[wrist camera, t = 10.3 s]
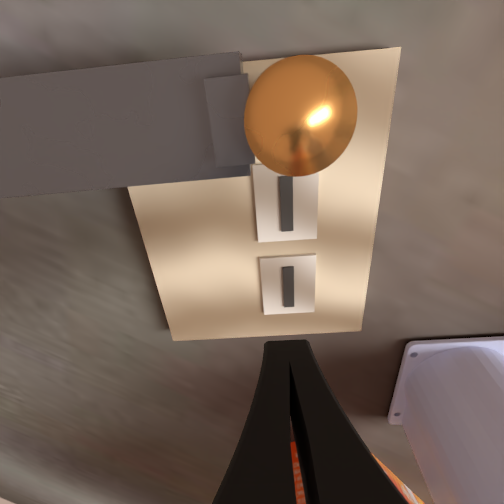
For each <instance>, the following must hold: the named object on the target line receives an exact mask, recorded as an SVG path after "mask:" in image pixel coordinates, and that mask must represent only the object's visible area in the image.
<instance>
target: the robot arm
mask: <svg viewBox="0 0 504 504" xmlns="http://www.w3.org/2000/svg"><path fill="white" fill-rule="evenodd" d="M290 416H291V421H292V427H293V433H294V438H295V444H296V449H297V455H298V461H299V466H300V472H301V477H302V483H303V488H304V494H305V501H306V504H409V503H408V502H407V500H406V499H405V498H404V497H403V495H402V494H401V493H400V491H399V490H398V489H397V487H396V486H395V485H394V483H393V482H392V481H391V480H390V478H389V477H388V476H387V474H386V473H385V472H384V470H383V469H382V467H381V466H380V465H379V463H378V462H377V460H376V459H375V458H374V456H373V455H372V454H371V452H370V451H369V449H368V448H367V446H366V445H365V443H364V442H363V440H362V439H361V437H360V436H359V434H358V433H357V431H356V430H355V428H354V427H353V425H352V424H351V422H350V420H349V419H348V417H347V416H346V414H345V412H344V411H343V409H342V407H341V406H340V404H339V402H338V401H337V399H336V397H335V395H334V394H333V392H332V390H331V388H330V387H329V385H328V383H327V381H326V379H325V377H324V375H323V373H322V371H321V369H320V367H319V365H318V363H317V361H316V359H315V356H314V354H313V352H312V349H311V347H310V344H309V342H308V341H307V340H285V341H267V342H266V343H265V344H264V354H263V361H262V367H261V372H260V376H259V380H258V384H257V388H256V391H255V395H254V398H253V402H252V405H251V408H250V411H249V414H248V417H247V420H246V423H245V426H244V429H243V432H242V434H241V437H240V440H239V442H238V445H237V448H236V450H235V453H234V455H233V458H232V460H231V462H230V465H229V467H228V469H227V472H226V474H225V476H224V479H223V481H222V483H221V485H220V487H219V490H218V492H217V494H216V496H215V498H214V501H213V503H212V504H297V501H296V492H295V482H294V473H293V463H292V453H291V442H290ZM388 421H389V423H390V424H392V425H399V424H402V426H403V429H404V431H405V434H406V436H407V439H408V441H409V444H410V446H411V448H412V451H413V453H414V456H415V458H416V461H417V463H418V466H419V468H420V470H421V473H422V475H423V478H424V480H425V483H426V485H427V488H428V490H429V492H430V495H431V497H432V500H433V502H434V504H504V336H499V337H480V338H460V339H441V340H421V341H411V342H409V343H408V344H407V345H406V347H405V351H404V355H403V359H402V363H401V367H400V370H399V374H398V378H397V382H396V386H395V390H394V394H393V398H392V402H391V406H390V410H389V414H388Z"/></svg>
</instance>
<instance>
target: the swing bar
mask: <svg viewBox="0 0 504 504" xmlns="http://www.w3.org/2000/svg"><path fill="white" fill-rule="evenodd" d="M357 110H358V107H357V99H356V95H355V91H354V89H353V86H352V84H351V82H350V80H349V79H348V77H347V76H346V75H345V73H344V72H343V71H342V70H341V69H340V68H339V67H338V66H337V65H335V64H334V63H332V62H331V61H329V60H327V59H324V58H322V57H318V56H314V55H297V56H291V57H287V58H284V59H281V60H279V61H277V62H275V63H273V64H272V65H270V66H269V67H268V68H266V69H265V70H264V71H263V72H262V73H261V74H260V76H259V77H258V78H257V79H256V81H255V82H254V84H253V86H252V88H251V90H250V86H249V74H248V73H244V72H243V62H242V54H241V53H240V52H239V51H238V52H229V53H220V54H211V55H202V56H193V57H184V58H175V59H166V60H157V61H148V62H139V63H130V64H121V65H112V66H103V67H94V68H85V69H76V70H67V71H58V72H49V73H40V74H31V75H22V76H13V77H4V78H0V198H8V197H19V196H31V195H42V194H53V193H64V192H75V191H86V190H97V189H108V188H120V187H131V186H142V185H153V184H164V183H175V182H186V181H197V180H208V179H220V178H231V177H242V176H251V164H255V156H256V157H257V159H258V160H259V161H260V162H261V163H262V164H263V165H264V166H266V167H267V168H269V169H270V170H272V171H274V172H276V173H279V174H281V175H286V176H293V177H301V176H307V175H311V174H315V173H317V172H319V171H322V170H323V169H325V168H327V167H328V166H330V165H331V164H332V163H334V162H335V161H336V160H337V159H338V158H339V157H340V156H341V154H342V153H343V152H344V151H345V149H346V148H347V146H348V144H349V143H350V141H351V139H352V136H353V134H354V131H355V127H356V122H357Z"/></svg>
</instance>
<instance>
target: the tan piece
mask: <svg viewBox="0 0 504 504" xmlns="http://www.w3.org/2000/svg"><path fill="white" fill-rule="evenodd" d="M400 52H401V47H395V48H385V49H374V50H363V51H353V52H342V53H331V54H321V55H314V56H318V57H322V58H324V59H327V60H329V61H331V62H332V63H334V64H335V65H337V66H338V67H339V68H340V69H341V70H342V71H343V72H344V73H345V75H346V76H347V77H348V79H349V80H350V82H351V84H352V86H353V89H354V91H355V95H356V99H357V107H358V110H357V122H356V127H355V131H354V134H353V136H352V139H351V141H350V143H349V144H348V146H347V148H346V149H345V151H344V152H343V153H342V154H341V156H340V157H339V158H338V159H337V160H336V161H335V162H334V163H332V164H331V165H330V166H328V167H327V168H325V169H323V170H322V171H319V172H317V173H315V174H311V175H307V176H301V177H293V176H286V175H281V174H279V173H276V172H274V171H272V170H270V169H269V168H267V167H266V166H264V165H263V164H262V163H261V162H260V161H259V160H258V159H257V157H256V156H255V164H251V176H242V177H231V178H220V179H208V180H197V181H186V182H175V183H164V184H153V185H142V186H131V187H127V188H128V191H129V194H130V198H131V201H132V204H133V208H134V211H135V214H136V218H137V221H138V224H139V228H140V231H141V234H142V238H143V241H144V244H145V248H146V251H147V254H148V258H149V261H150V265H151V268H152V271H153V275H154V278H155V281H156V285H157V288H158V291H159V295H160V298H161V301H162V305H163V308H164V311H165V315H166V318H167V321H168V325H169V328H170V331H171V335H172V338H173V341H183V340H202V339H220V338H239V337H258V336H277V335H296V334H314V333H333V332H352V331H361V327H362V320H363V313H364V306H365V299H366V292H367V285H368V278H369V271H370V264H371V257H372V250H373V243H374V236H375V229H376V221H377V214H378V207H379V200H380V193H381V186H382V179H383V172H384V165H385V158H386V151H387V144H388V137H389V130H390V123H391V116H392V109H393V102H394V94H395V87H396V80H397V73H398V66H399V59H400ZM281 59H284V58H278V59H267V60H257V61H246V62H243V72H244V73H248V74H249V86H250V90H251V88H252V86H253V84H254V82H255V81H256V79H257V78H258V77H259V76H260V74H261V73H262V72H263V71H264V70H265V69H266V68H268V67H269V66H270V65H272V64H273V63H275V62H277V61H279V60H281Z"/></svg>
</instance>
